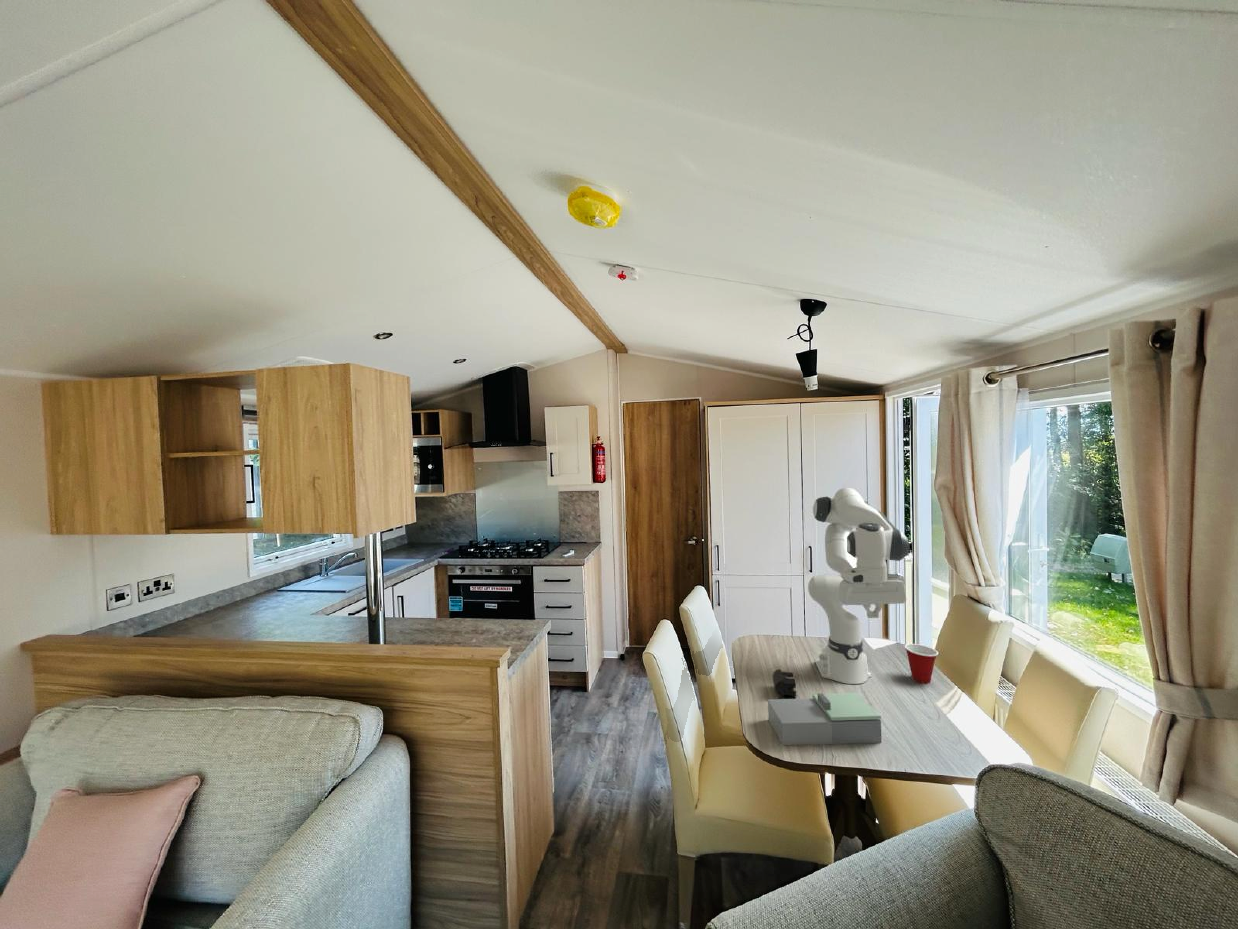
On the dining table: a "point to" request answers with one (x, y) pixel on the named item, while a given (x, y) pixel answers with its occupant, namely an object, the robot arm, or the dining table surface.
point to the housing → (817, 724)
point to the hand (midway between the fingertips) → (872, 617)
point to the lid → (845, 706)
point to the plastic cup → (921, 661)
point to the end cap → (784, 684)
